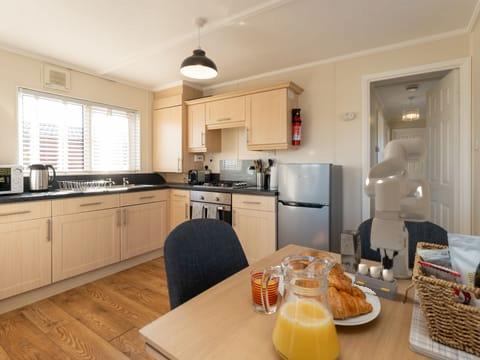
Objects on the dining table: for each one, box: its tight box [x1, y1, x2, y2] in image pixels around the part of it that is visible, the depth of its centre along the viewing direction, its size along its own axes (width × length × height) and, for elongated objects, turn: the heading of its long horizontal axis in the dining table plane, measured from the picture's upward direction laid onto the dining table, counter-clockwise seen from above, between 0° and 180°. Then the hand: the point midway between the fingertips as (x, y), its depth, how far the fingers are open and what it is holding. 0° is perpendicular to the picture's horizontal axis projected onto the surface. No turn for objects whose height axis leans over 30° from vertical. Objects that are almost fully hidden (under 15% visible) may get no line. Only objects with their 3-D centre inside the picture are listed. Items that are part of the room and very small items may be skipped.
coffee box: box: [340, 229, 362, 274], centre depth 112 cm, size 9×6×16 cm
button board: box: [353, 270, 399, 301], centre depth 91 cm, size 7×12×5 cm, turn 46°
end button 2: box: [358, 263, 369, 276], centre depth 94 cm, size 3×3×4 cm
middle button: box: [369, 266, 381, 280], centre depth 91 cm, size 3×3×4 cm
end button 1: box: [382, 269, 394, 283], centre depth 88 cm, size 3×3×4 cm
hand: (387, 268), depth 88 cm, fingers closed
